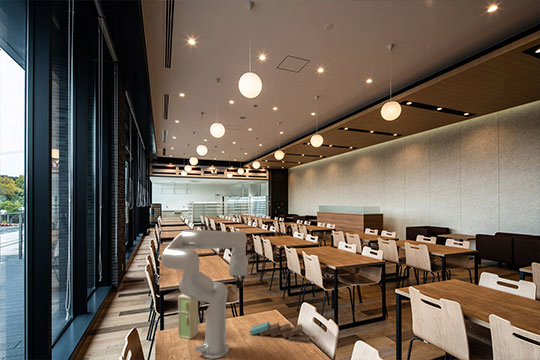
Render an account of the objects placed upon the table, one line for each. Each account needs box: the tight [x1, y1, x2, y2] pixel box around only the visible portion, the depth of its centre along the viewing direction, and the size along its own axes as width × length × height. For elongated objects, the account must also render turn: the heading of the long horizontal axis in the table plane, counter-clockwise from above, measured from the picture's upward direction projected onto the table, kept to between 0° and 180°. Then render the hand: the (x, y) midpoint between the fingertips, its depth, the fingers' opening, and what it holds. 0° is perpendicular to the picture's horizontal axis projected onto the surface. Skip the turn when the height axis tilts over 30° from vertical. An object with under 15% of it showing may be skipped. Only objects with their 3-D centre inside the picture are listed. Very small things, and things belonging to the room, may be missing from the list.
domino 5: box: [288, 333, 311, 344], centre depth 136 cm, size 2×5×10 cm
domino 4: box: [281, 324, 304, 339], centre depth 138 cm, size 2×5×10 cm
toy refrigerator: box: [177, 293, 199, 340], centre depth 142 cm, size 8×7×21 cm
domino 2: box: [259, 322, 281, 337], centre depth 141 cm, size 2×5×10 cm
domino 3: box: [270, 322, 292, 338], centre depth 140 cm, size 2×5×10 cm
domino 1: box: [249, 321, 271, 336], centre depth 142 cm, size 2×5×10 cm
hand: (239, 287), depth 147 cm, fingers closed
